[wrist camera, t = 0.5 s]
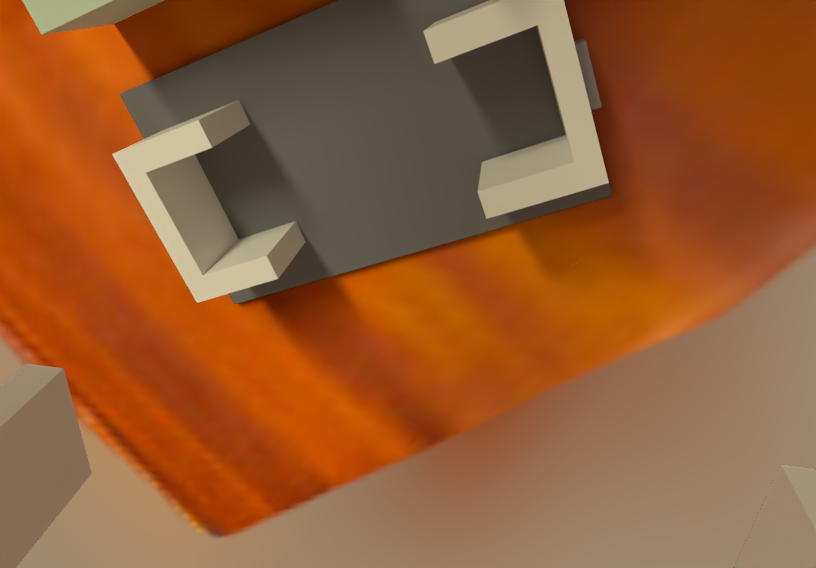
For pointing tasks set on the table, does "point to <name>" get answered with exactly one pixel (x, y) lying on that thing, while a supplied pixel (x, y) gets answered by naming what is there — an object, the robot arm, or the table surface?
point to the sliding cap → (574, 90)
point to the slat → (82, 13)
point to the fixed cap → (202, 208)
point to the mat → (362, 132)
